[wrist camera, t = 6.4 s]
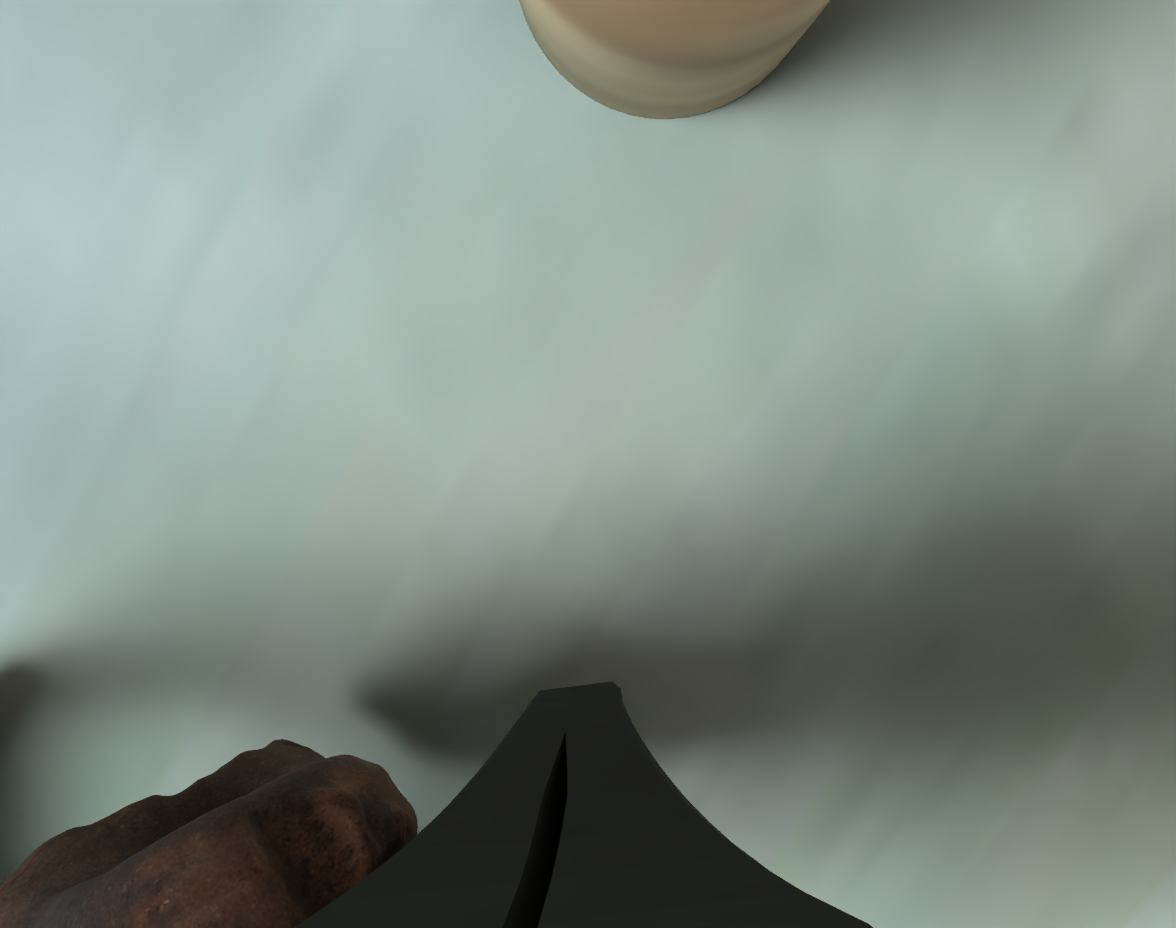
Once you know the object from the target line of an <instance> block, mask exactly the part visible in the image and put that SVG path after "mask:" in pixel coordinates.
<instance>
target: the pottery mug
mask: <svg viewBox="0 0 1176 928" xmlns="http://www.w3.org/2000/svg"><path fill="white" fill-rule="evenodd" d="M415 836H417V817H416V814H415V811H414V809H413V807H412V806H411V804H410V803H409V802H408V801H407V799H406V798H405V797H404V796H403V795H402V794H401V793H400V791H399V790H398V789H397V787H396V786H395V784H394V783H393V781H392V780H391V778H390V776H389V774H388V773H387V772H386V771H385V770H384V769H383V768H382V767H381V766H379V765H377V764H374V763H371V762H368V761H365V760H362V759H360V758H357V757H354V756H351V755H339V756H333V757H330V758H327V759H326V758H324V757H323V756H321V755H320V754H318V753H317V752H315V751H313V750H312V749H310V748H308V747H304V746H302V745H299V744H296V743H294V742H291V741H288V740H284V739H281V740H275V741H273V742H271V743H270V744H268V745H267V746H266V747H265V748H263V749H259V750H251V751H245V752H243V753H241V754H239V755H238V756H236V757H235V758H234V759H232V760H231V761H230V762H228V763H227V764H225V765H224V766H222V767H221V768H219V769H218V770H217V771H216V772H214V773H213V774H211V775H209V776H206V777H204V778H201V779H199V780H197V781H196V782H195V783H193V784H192V785H191V786H190V787H188V788H187V789H185V790H184V791H182V792H180V793H178V794H176V795H172V796H160V795H153V796H150V797H147V798H145V799H143V800H140V801H138V802H135V803H132V804H130V805H128V806H126V807H124V808H122V809H121V810H119V811H117V812H115V813H113V814H111V815H110V816H108V817H106V818H104V819H101V820H99V821H97V822H95V823H93V824H91V825H87V826H82V827H75V828H72V829H69V830H67V831H65V832H63V833H61V834H59V835H57V836H55V837H53V838H51V839H50V840H48V841H46V842H45V843H43V844H42V845H41V846H40V847H38V848H37V849H36V850H35V851H34V852H33V853H32V854H31V855H30V856H29V857H28V858H27V859H26V860H25V861H24V862H23V863H22V864H21V865H20V867H19V868H18V869H17V870H16V871H15V872H14V873H13V874H12V875H11V876H9V877H8V878H7V879H6V880H5V881H4V882H3V883H2V884H1V885H0V928H293V927H295V926H297V925H298V924H300V923H301V922H303V921H305V920H306V919H308V918H309V917H311V916H312V915H314V914H315V913H317V912H318V911H320V910H321V909H323V908H324V907H326V906H327V905H329V904H330V903H332V902H333V901H335V900H336V899H337V898H339V897H340V896H342V895H343V894H344V893H346V892H347V891H348V890H349V889H351V888H352V887H353V886H355V885H356V884H357V883H359V882H360V881H361V880H363V879H364V878H365V877H366V876H368V875H369V874H370V873H372V872H373V871H374V870H376V869H377V868H378V867H380V866H381V865H382V864H383V863H385V862H386V861H387V860H389V859H390V858H391V857H393V856H394V855H395V854H396V853H397V852H399V851H400V850H401V849H402V848H403V847H404V846H405V845H407V844H408V843H409V842H410V841H411V840H412V839H413V838H414V837H415Z"/></svg>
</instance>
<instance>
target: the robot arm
mask: <svg viewBox="0 0 1176 928" xmlns="http://www.w3.org/2000/svg"><path fill="white" fill-rule="evenodd" d="M293 928H873V927H872V926H870V925H869V924H868V923H866V922H864V921H862V920H859V919H857V918H855V917H853V916H851V915H849V914H847V913H845V912H843V911H841V910H839V909H837V908H835V907H833V906H831V905H829V904H827V903H825V902H823V901H821V900H819V899H817V898H815V897H813V896H811V895H809V894H807V893H805V892H803V891H801V890H800V889H798V888H796V887H795V886H793V885H791V884H790V883H788V882H787V881H785V880H783V879H782V878H780V877H779V876H777V875H775V874H774V873H772V872H770V871H769V870H768V869H766V868H765V867H764V866H762V865H761V864H760V863H758V862H757V861H756V860H754V859H753V858H752V857H750V856H749V855H748V854H746V853H745V852H744V851H742V850H741V849H740V848H738V847H737V846H736V845H734V844H733V843H732V842H731V841H730V840H729V839H727V838H726V837H725V836H724V835H723V834H722V833H721V832H720V831H719V830H717V829H716V828H715V827H714V826H713V825H712V824H711V823H710V822H709V821H708V820H707V819H706V818H705V817H704V816H703V815H702V814H701V813H700V812H699V811H698V810H697V809H696V808H695V807H694V806H693V805H692V804H691V803H690V802H689V801H688V800H687V799H686V798H685V796H684V795H683V794H682V793H681V792H680V791H679V790H678V788H677V787H676V786H675V785H674V784H673V782H672V781H671V780H670V779H669V777H668V776H667V775H666V773H665V772H664V771H663V770H662V768H661V767H660V766H659V764H658V763H657V761H656V760H655V759H654V757H653V756H652V754H651V753H650V751H649V750H648V748H647V747H646V745H645V744H644V742H643V740H642V739H641V737H640V736H639V734H638V733H637V731H636V729H635V727H634V725H633V724H632V722H631V720H630V718H629V716H628V713H627V711H626V709H625V707H624V704H623V701H622V696H621V689H620V688H619V687H618V686H617V685H615V684H614V683H613V682H606V683H598V684H590V685H582V686H574V687H566V688H558V689H550V690H542V691H540V692H539V693H538V694H537V695H536V697H535V698H534V699H533V700H532V702H531V703H530V704H529V706H528V707H527V708H526V710H525V711H524V713H523V714H522V715H521V717H520V718H519V719H518V721H517V722H516V724H515V725H514V726H513V728H512V729H511V730H510V732H509V733H508V734H507V736H506V737H505V738H504V740H503V741H502V742H501V744H500V745H499V746H498V747H497V749H496V750H495V751H494V753H493V754H492V755H491V756H490V758H489V759H488V760H487V761H486V763H485V764H484V765H483V767H482V768H481V769H480V770H479V771H478V772H477V774H476V775H475V776H474V777H473V778H472V779H471V780H470V781H469V783H468V784H467V785H466V786H465V787H464V788H463V789H462V790H461V792H460V793H459V794H458V795H457V796H456V797H455V798H454V800H453V801H452V802H451V803H450V804H449V805H448V806H447V807H446V808H445V809H444V810H443V811H442V812H441V813H440V814H439V815H438V816H437V817H436V818H435V819H434V820H433V821H432V822H431V823H430V824H429V825H428V826H427V827H425V828H424V829H423V830H422V831H421V832H420V833H419V834H418V835H417V836H415V837H414V838H413V839H412V840H411V841H410V842H409V843H408V844H407V845H405V846H404V847H403V848H402V849H401V850H400V851H399V852H397V853H396V854H395V855H394V856H393V857H391V858H390V859H389V860H387V861H386V862H385V863H383V864H382V865H381V866H380V867H378V868H377V869H376V870H374V871H373V872H372V873H370V874H369V875H368V876H366V877H365V878H364V879H363V880H361V881H360V882H359V883H357V884H356V885H355V886H353V887H352V888H351V889H349V890H348V891H347V892H346V893H344V894H343V895H342V896H340V897H339V898H337V899H336V900H335V901H333V902H332V903H330V904H329V905H327V906H326V907H324V908H323V909H321V910H320V911H318V912H317V913H315V914H314V915H312V916H311V917H309V918H308V919H306V920H305V921H303V922H301V923H300V924H298V925H297V926H295V927H293Z"/></svg>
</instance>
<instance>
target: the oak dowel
mask: <svg viewBox="0 0 1176 928" xmlns="http://www.w3.org/2000/svg"><path fill="white" fill-rule="evenodd" d="M519 1H520V4H521V7H522V10H523V13H524V16H525V19H526V22H527V24H528V26H529V28H530V30H531V32H532V34H533V36H534V38H535V40H536V42H537V43H538V45H539V46H540V48H541V50H542V51H543V53H544V54H545V56H546V57H547V59H548V60H549V61H550V62H551V63H552V65H553V66H554V67H555V68H556V69H557V70H558V72H559V73H560V74H561V75H562V76H563V77H564V78H565V79H567V80H568V81H569V82H570V83H571V84H572V85H573V86H574V87H575V88H577V89H578V90H580V91H581V92H582V93H584V94H585V95H587V96H588V97H590V98H591V99H593V100H595V101H597V102H599V103H601V104H603V105H605V106H607V107H609V108H611V109H614V110H617V111H620V112H623V113H626V114H629V115H634V116H639V117H644V118H655V119H674V118H684V117H690V116H694V115H699V114H703V113H707V112H709V111H712V110H714V109H717V108H720V107H722V106H725V105H727V104H729V103H730V102H732V101H734V100H736V99H738V98H739V97H741V96H743V95H744V94H746V93H747V92H749V91H750V90H751V89H753V88H754V87H755V86H757V85H758V84H760V83H761V82H762V81H763V80H764V79H765V78H766V77H767V76H768V75H769V74H770V73H771V72H772V71H773V70H774V69H775V68H776V67H777V66H778V65H779V63H780V62H781V61H782V60H783V59H784V57H785V56H786V55H787V54H788V53H789V51H790V50H791V49H792V48H793V46H794V45H795V44H796V43H797V41H798V40H799V39H800V38H801V37H802V35H803V34H804V33H805V32H806V30H807V29H808V28H809V27H810V25H811V24H812V23H813V22H814V21H815V19H816V18H817V17H818V16H819V14H820V13H821V12H822V11H823V9H824V8H825V7H826V6H827V4H828V3H829V2H830V1H831V0H519Z"/></svg>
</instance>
